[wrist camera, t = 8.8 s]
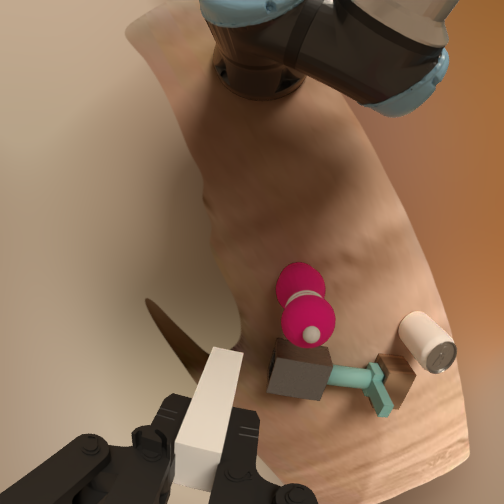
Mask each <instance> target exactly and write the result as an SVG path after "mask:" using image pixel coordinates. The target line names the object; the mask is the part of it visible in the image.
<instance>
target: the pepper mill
mask: <svg viewBox="0 0 504 504" xmlns="http://www.w3.org/2000/svg"><path fill="white" fill-rule="evenodd" d="M276 295H277V299H278V301H279V303H280V305H281V306H282V307H283V308H284V311H283V313H282V318H281V326H282V330H283V333H284V335H285V337H286V338H287V339H288V340H289V341H290V342H291V343H292V344H294V345H296V346H298V347H301V348H315V347H318V346H320V345H322V344H324V343H325V342H326V341H327V340H328V339H329V338H330V337H331V335H332V333H333V331H334V328H335V314H334V311H333V309H332V307H331V305H330V304H329V303H328V302H327V301H326V300H325V299H324V296H325V284H324V280H323V278H322V276H321V275H320V273H319V272H318V271H317V270H315V269H314V268H312V267H311V266H310V265H308V264H306V263H302V262H296V263H292V264H290V265H288V266H287V267H285V268H284V269H283V271H282V272H281V274H280V277H279V279H278V281H277V284H276Z"/></svg>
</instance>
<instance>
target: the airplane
mask: <svg viewBox="0 0 504 504" xmlns="http://www.w3.org/2000/svg"><path fill="white" fill-rule="evenodd" d="M385 377H386V376H385V374H384V372H383V371H382V370H381V368H380V366H379V365H378V363H371V362H369V364H368V366H367V369H362V368H354V367H347V366H340V365H333V369H332V372H331V375H330V377H329V380H328V382H327V385H334V386H342V387H350V388H360V389H362V391H363V393H364V396H367V397H370V399H371V401H372V404H373V406H374V409H375V411H376V414H377V416H378V417H388V416H389V414H390V412H391V410H392V409H393V407H394V405H393V403H392V401H391V399H390V397H389V395H388V393H387V391H386V389H385V387H384V385H383V381H384V379H385Z"/></svg>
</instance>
